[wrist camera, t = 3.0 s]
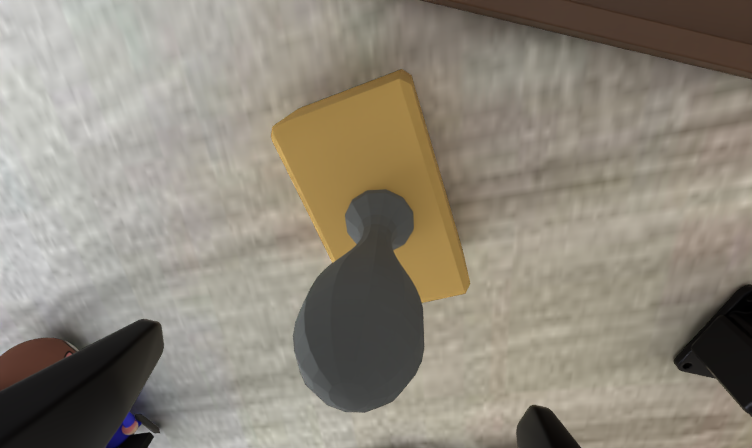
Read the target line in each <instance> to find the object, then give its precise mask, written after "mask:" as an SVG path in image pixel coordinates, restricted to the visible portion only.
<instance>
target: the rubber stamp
mask: <svg viewBox="0 0 752 448" xmlns="http://www.w3.org/2000/svg"><path fill="white" fill-rule="evenodd" d="M271 139H272V142H273V144H274V146H275V148H276V150H277V152H278V154H279V156H280V158H281V160H282V162H283V164H284V166H285V168H286V170H287V172H288V174H289V176H290V178H291V180H292V182H293V184H294V186H295V188H296V190H297V192H298V194H299V196H300V198H301V200H302V202H303V204H304V206H305V208H306V210H307V212H308V214H309V216H310V218H311V220H312V222H313V224H314V226H315V228H316V230H317V232H318V234H319V236H320V238H321V241H322V243H323V245H324V247H325V249H326V251H327V253H328V255H329V257H330V259H331V261H332V264H331V265H329V266H328V267H327V268H326V269H325V270H324V271H323V272H322V273H321V274H320V275H319V276H318V277H317V279H316V280H315V282H314V283H313V285H312V287H311V288H310V291H309V293H308V295H307V297H306V299H305V301H304V303H303V305H302V307H301V309H300V312H299V314H298V317H297V319H296V322H295V327H294V333H293V342H294V352H295V355H296V359H297V362H298V366H299V370H300V373H301V375H302V378H303V380H304V382H305V385H306V386H307V387H309V388H310V389H311V390H312V391H313V392H314V393H315V394H316V395H317V396H318V397H319V398H320V399H321V400H322V401H323V402H325V403H326V404H327V405H328V406H331V407H334V408H336V409H339V410H342V411H344V412H364V413H365V412H367V411H370V410H373V409H376V408H379V407H381V406H384V405H386V404H388V403H390V402H393V401H394V400H395V398H396V397H397V396H398V395H399V394H400V393H401V392H402V391H403V389H404V388H405V387H406V386H407V385H408V383H409V382H410V381H411V380H412V378H413V377H414V376H415V375H416V373H417V370H418V368H419V366H420V364H421V362H422V357H423V352H424V324H423V307H422V303H424V302H428V301H433V300H438V299H442V298H447V297H452V296H456V295H461V294H465V293H466V291H467V289H468V287H469V285H470V280H469V276H468V271H467V267H466V262H465V258H464V254H463V249H462V246H461V243H460V239H459V236H458V232H457V229H456V226H455V222H454V219H453V215H452V212H451V209H450V205H449V202H448V198H447V195H446V192H445V188H444V185H443V181H442V178H441V175H440V171H439V168H438V164H437V161H436V158H435V154H434V151H433V147H432V144H431V141H430V137H429V134H428V130H427V127H426V124H425V120H424V117H423V113H422V110H421V107H420V103H419V100H418V96H417V93H416V90H415V86H414V83H413V79H412V76H411V75H410V74H409V73H407V72H405V71H404V70H402V69H401V70H398V71H396V72H393V73H390V74H388V75H385V76H383V77H380V78H377V79H375V80H372V81H369V82H367V83H364V84H362V85H359V86H356V87H354V88H351V89H349V90H346V91H343V92H341V93H338V94H335V95H333V96H330V97H328V98H325V99H322V100H320V101H317V102H315V103H312V104H309V105H307V106H304V107H302V108H299V109H297V110H296V111H294V112H293V113H291V114H290V115H288V116H287V117H285V118H284V119H282V120H281V121H279V122H278V123H276V124H275V125H274V126H273V127H272V133H271Z"/></svg>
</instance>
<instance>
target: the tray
mask: <svg viewBox="0 0 752 448" xmlns="http://www.w3.org/2000/svg"><path fill="white" fill-rule="evenodd" d="M422 1H426V2H430V3H434V4H438V5H443V6H447V7H451V8H455V9H459V10H464V11H468V12H472V13H476V14H480V15H485V16H489V17H493V18H497V19H501V20H506V21H510V22H514V23H518V24H522V25H527V26H531V27H535V28H539V29H543V30H547V31H552V32H556V33H560V34H564V35H568V36H573V37H577V38H581V39H585V40H589V41H594V42H598V43H602V44H606V45H610V46H615V47H619V48H623V49H627V50H631V51H636V52H640V53H644V54H648V55H652V56H657V57H661V58H665V59H669V60H673V61H678V62H682V63H686V64H690V65H694V66H699V67H703V68H707V69H711V70H715V71H720V72H724V73H728V74H732V75H736V76H740V77H745V78H749V79H752V0H422Z"/></svg>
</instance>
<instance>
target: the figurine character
mask: <svg viewBox="0 0 752 448" xmlns="http://www.w3.org/2000/svg"><path fill="white" fill-rule="evenodd" d="M77 351H79V350H78V349H77V348H76V347H75V346H74V345H72V344H71V343H69V342H67V341H65V340H61V339H57V338H38V339H33V340H29V341H26V342H23V343H21V344H18V345H16V346H14V347H13V348H11V349H9V350H8V351H6V352H5V353H4V354H2V355H1V356H0V391H2V390H4V389H5V388H7V387H9V386H11V385H13V384H15V383H17V382H19V381H21V380H23V379H25V378H27V377H29V376H31V375H33V374H35V373H37V372H38V371H40V370H42V369H44V368H46V367H48V366H50V365H52V364H54V363H56V362H58V361H60V360H62V359H64V358H66V357H68V356H70V355H72V354H73V353H75V352H77ZM135 419H136V420H135ZM141 424H143V425H144V426H145V427H147V428H148V429H149V430H151V431H152V432H153V433H160V429H159V427H157V426H156V425H155V424H153V423H152V422H151V421H150V420H148V419H147V418H146V417H144V416H143V415H142V414H135V416H134V415H133V414H132V413H130V411H129V413H128V415H127V416H126V418H125V419H124V421H123V422H122V424H121V425H120V427H119V428H118V430H117V431H116V433H115V434H114V436H113V437H112V439H111V440H110V441H109V443H108V444H107V446H106V447H105V448H147V447H148V446H149V444H150V443H151V441H152V439H153V438H154V436H153V435H152V434H151V433H150V432H148V433H141V434H134V432H136V430H137V429H138V427H139V426H140V425H141Z"/></svg>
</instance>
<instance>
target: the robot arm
mask: <svg viewBox="0 0 752 448" xmlns="http://www.w3.org/2000/svg"><path fill="white" fill-rule="evenodd" d="M163 349H164V342H163V334H162V327H161V324H160V323H159V322H157V321H152V320H148V319H141V320H138V321H136V322H134V323H132V324H130V325H128V326H126V327H124V328H122V329H120V330H118V331H116V332H114V333H112V334H110V335H108V336H106V337H105V338H103V339H101V340H99V341H97V342H95V343H93V344H91V345H89V346H87V347H85V348H83V349H81V350H79V351H77V352H75V353H73V354H72V355H70V356H68V357H66V358H64V359H62V360H60V361H58V362H56V363H54V364H52V365H50V366H48V367H46V368H44V369H42V370H40V371H38V372H37V373H35V374H33V375H31V376H29V377H27V378H25V379H23V380H21V381H19V382H17V383H15V384H13V385H11V386H9V387H7V388H5V389H4V390H2V391H0V448H105V447H106V446H107V444H108V443H109V441H110V440H111V439H112V437H113V436H114V434H115V433H116V431H117V430H118V428H119V427H120V425H121V424H122V422H123V421H124V419H125V418H126V416H127V415H128V413H129V411H130V410H131V408H132V406H133V404H134V403H135V401H136V399H137V397H138V396H139V394H140V392H141V390H142V389H143V387H144V385H145V383H146V381H147V380H148V378H149V376H150V374H151V373H152V371H153V369H154V367H155V366H156V364H157V362H158V360H159V359H160V357H161V355H162V352H163ZM674 364H675V365H676V366H677V368H678V369H679V370H680V371H684V372H688V373H693V374H697V375H702V376H706V377H711V378H715V379H717V380H718V381H719V383H720V384H721V385H722V386H723V387H724V388H725V389H726V391H727V392H728V393H729V394H730V395H731V396H732V397H733V399H734V400H735V401H736V402H737V403H738V404H739V405H740V407H741V408H742V409H743V410H744V411H745V412H746V413H749V414H750V416H751V417H752V285H747V286H744V287H741V288H740V289H739V290H737V292H736V293H735V294H734V295H733V296H732V297H731V298H730V299H729V300H728V301H727V302H726V304H725V305H724V306H723V307H722V308H721V309H720V310H719V311H718V312H717V313H716V315H715V316H714V317H713V318H712V319H711V320H710V321H709V322H708V323H707V324H706V325H705V327H704V328H703V329H702V330H701V331H700V332H699V333H698V334H697V335H696V336H695V337H694V339H693V340H692V341H691V342H690V343H689V344H688V345H687V346H686V347H685V348H684V349H683V351H682V352H681V353H680V354H679V355H678V356H677V357H676V358H675V360H674ZM516 435H517V446H518V448H581V447H580V446H579V444H578V443H577V442H576V441H575V439H574V438H573V437H572V436H571V434H570V433H569V432H568V431H567V429H566V428H565V427H564V425H563V424H562V423H561V422H560V420H559V419H558V418H557V417H556V415H555V414H554V413H553V412H552V411H551V410H550V409H549V408H546V407H542V406H537V405H531V406H530V407H529V408H528V409H527V411H526V412H525V414H524V415H523V417H522V418H521V420H520V421H519V423H518V425H517V431H516Z"/></svg>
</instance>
